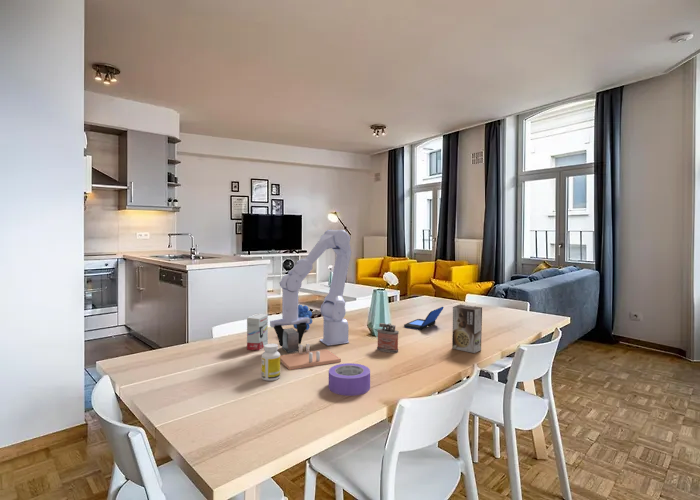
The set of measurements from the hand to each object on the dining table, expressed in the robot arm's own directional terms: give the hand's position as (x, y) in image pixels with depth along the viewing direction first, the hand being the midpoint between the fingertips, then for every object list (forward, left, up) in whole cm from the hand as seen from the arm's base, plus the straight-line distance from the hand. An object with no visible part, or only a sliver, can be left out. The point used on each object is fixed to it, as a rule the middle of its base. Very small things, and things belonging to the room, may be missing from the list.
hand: (290, 344), depth 146 cm
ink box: (+10, -8, -2) cm, 13 cm away
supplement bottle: (+14, +24, -2) cm, 28 cm away
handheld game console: (-67, -8, -2) cm, 68 cm away
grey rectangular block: (0, 0, -2) cm, 2 cm away
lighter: (-32, +16, -2) cm, 36 cm away
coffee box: (-60, +27, -2) cm, 66 cm away
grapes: (-13, -21, -2) cm, 25 cm away
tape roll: (-4, +40, -2) cm, 40 cm away
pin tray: (-2, +14, -2) cm, 14 cm away
